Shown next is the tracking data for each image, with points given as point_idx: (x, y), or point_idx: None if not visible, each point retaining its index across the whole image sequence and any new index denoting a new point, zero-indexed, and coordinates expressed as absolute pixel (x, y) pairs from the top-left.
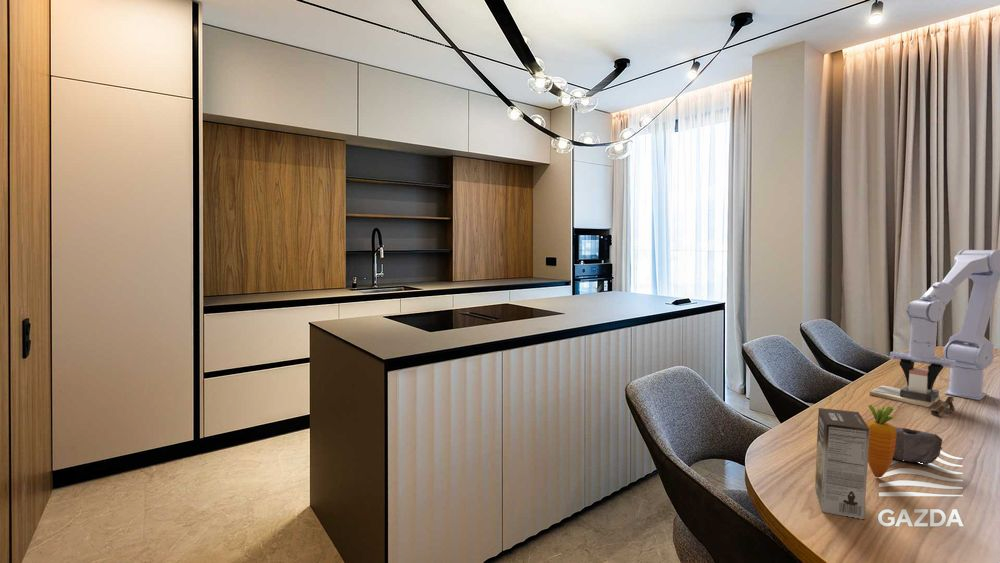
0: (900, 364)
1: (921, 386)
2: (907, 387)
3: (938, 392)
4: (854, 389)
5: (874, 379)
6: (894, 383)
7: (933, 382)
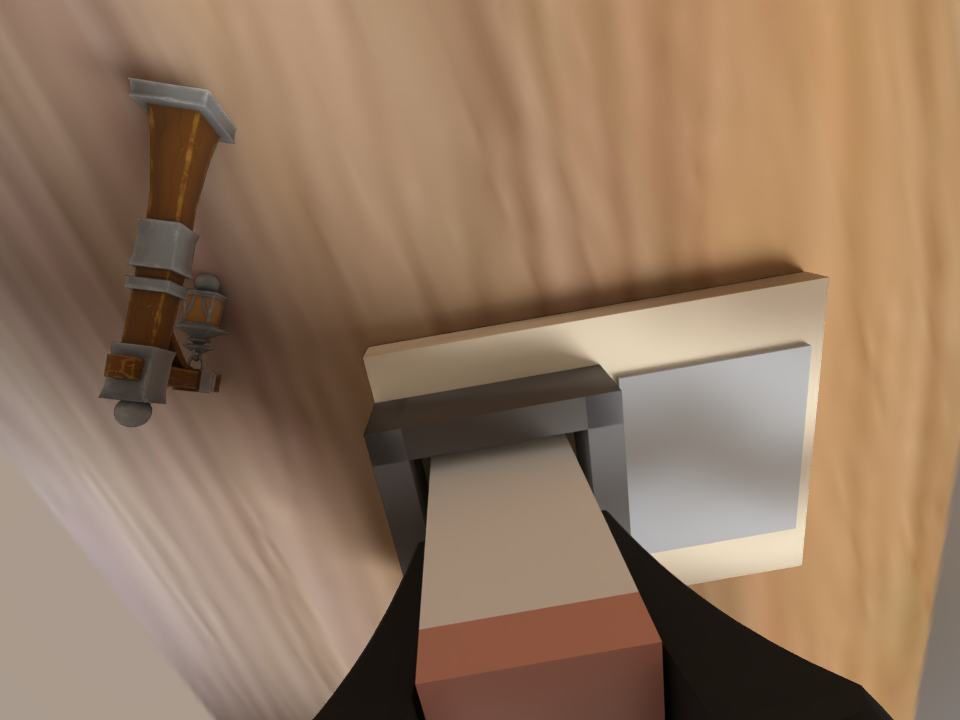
0: (860, 694)
1: (470, 506)
2: None
3: None
4: (938, 336)
5: None
6: None
7: None
